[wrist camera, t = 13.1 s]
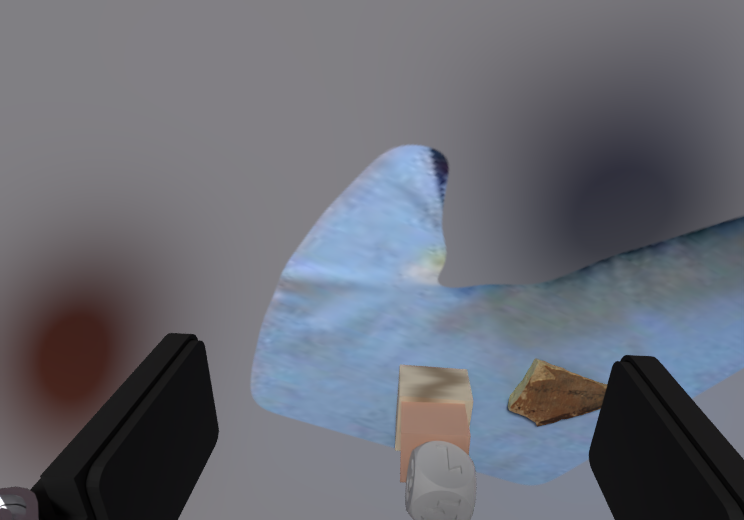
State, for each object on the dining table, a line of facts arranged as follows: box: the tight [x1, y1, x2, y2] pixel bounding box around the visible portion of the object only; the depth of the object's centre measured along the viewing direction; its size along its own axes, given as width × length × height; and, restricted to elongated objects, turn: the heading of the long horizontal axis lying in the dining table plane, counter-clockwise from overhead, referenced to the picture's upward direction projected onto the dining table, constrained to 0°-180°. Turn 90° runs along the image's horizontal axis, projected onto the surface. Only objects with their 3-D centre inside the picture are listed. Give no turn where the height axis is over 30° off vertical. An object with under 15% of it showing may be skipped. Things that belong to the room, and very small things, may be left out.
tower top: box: [400, 401, 470, 482], centre depth 42 cm, size 6×6×4 cm
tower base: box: [395, 365, 473, 451], centre depth 46 cm, size 7×7×5 cm
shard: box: [508, 359, 607, 426], centre depth 47 cm, size 11×8×2 cm
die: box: [405, 441, 476, 520], centre depth 38 cm, size 5×5×5 cm
